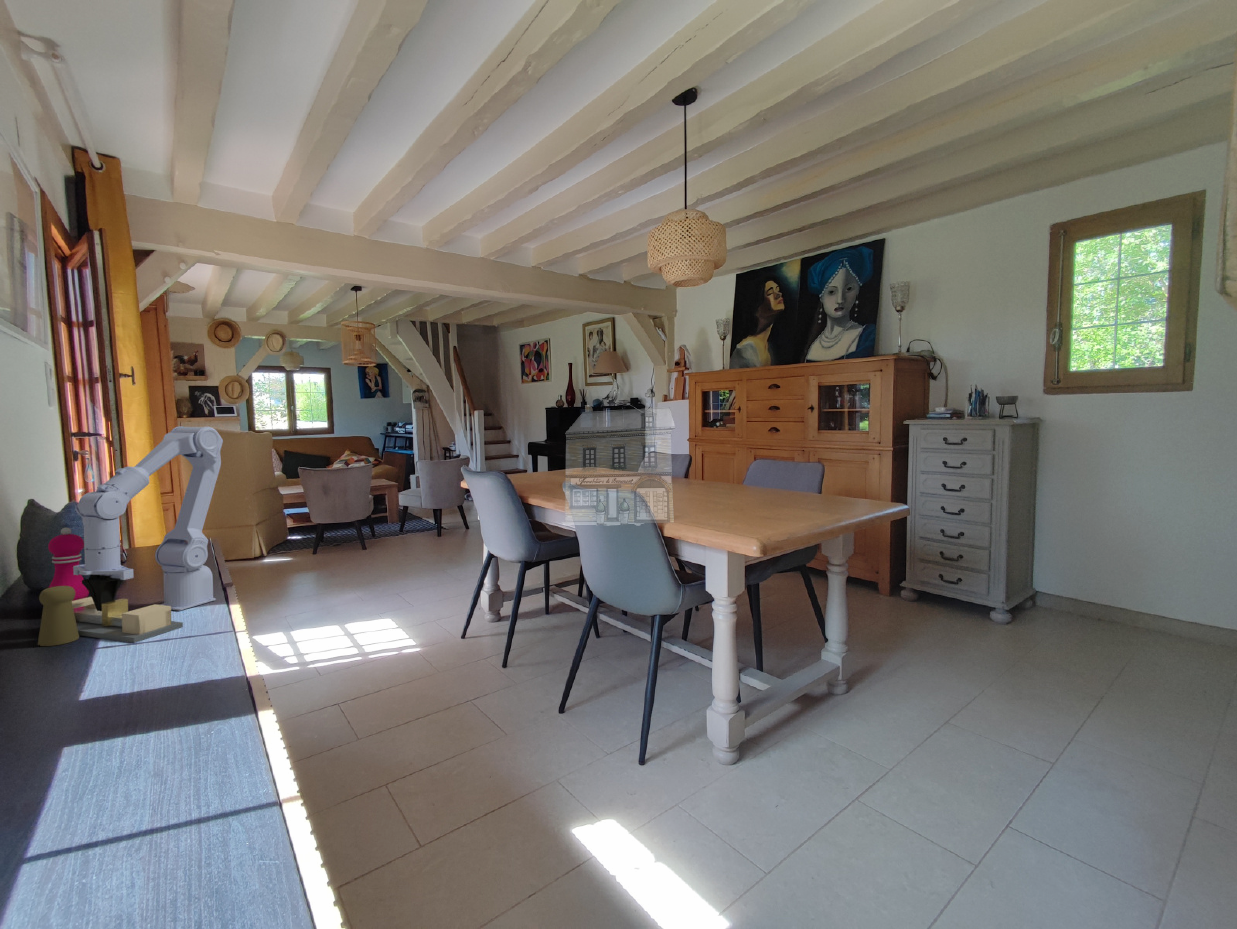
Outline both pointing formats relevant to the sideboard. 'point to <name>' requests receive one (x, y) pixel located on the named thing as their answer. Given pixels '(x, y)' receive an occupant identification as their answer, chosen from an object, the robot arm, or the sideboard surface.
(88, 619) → the rod
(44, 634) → the cork
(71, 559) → the pepper mill
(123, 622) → the jig board
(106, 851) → the sideboard surface
